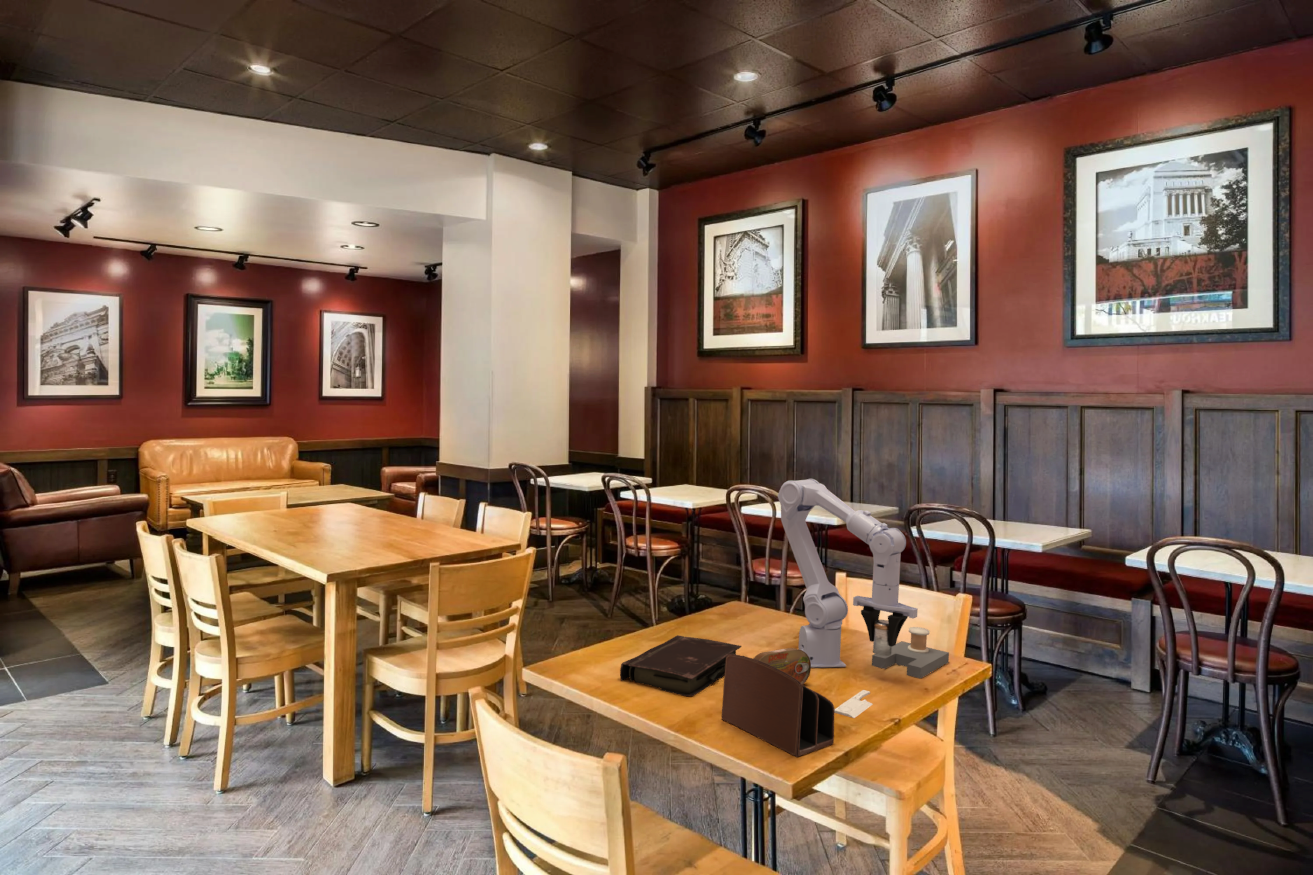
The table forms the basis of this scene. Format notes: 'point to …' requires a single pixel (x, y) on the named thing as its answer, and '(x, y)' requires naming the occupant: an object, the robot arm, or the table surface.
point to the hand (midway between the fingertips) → (882, 642)
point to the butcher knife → (854, 705)
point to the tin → (788, 662)
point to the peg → (881, 638)
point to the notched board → (913, 655)
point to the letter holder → (775, 707)
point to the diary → (680, 665)
